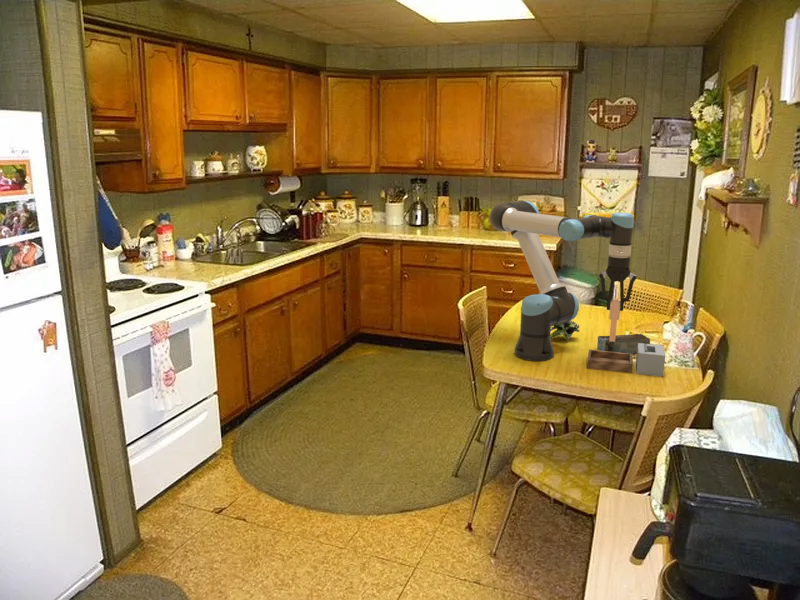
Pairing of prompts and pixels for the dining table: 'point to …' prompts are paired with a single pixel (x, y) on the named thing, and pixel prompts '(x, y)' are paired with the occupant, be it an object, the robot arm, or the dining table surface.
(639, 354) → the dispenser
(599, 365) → the tray
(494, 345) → the dining table surface
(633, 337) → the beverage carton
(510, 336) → the dining table surface
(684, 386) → the dining table surface
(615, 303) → the tan wooden bar
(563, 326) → the green leafy plant
